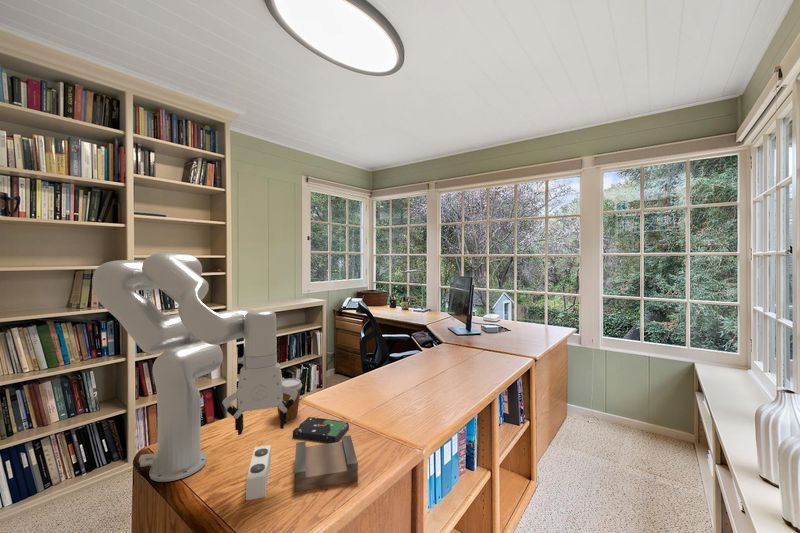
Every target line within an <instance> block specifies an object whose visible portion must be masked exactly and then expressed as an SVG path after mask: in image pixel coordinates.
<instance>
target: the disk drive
mask: <svg viewBox="0 0 800 533" xmlns="http://www.w3.org/2000/svg"><path fill="white" fill-rule="evenodd" d="M349 425H350V424H349V422H347V421H343V420H336V419H335V420H334V419H328V418H320V417H313V416H312V417H311V416H308V417H307V418H306V419H304V420H303V421H302V422H301V423H299V425H298V427H295V428H294V429H293V430H292V438H293V439H297V440H305V441H313V442H320V443H325V444H329V443H336V442H340V440H342V436H345V433H347V431H348V430H349V428H350V426H349Z"/></svg>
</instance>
